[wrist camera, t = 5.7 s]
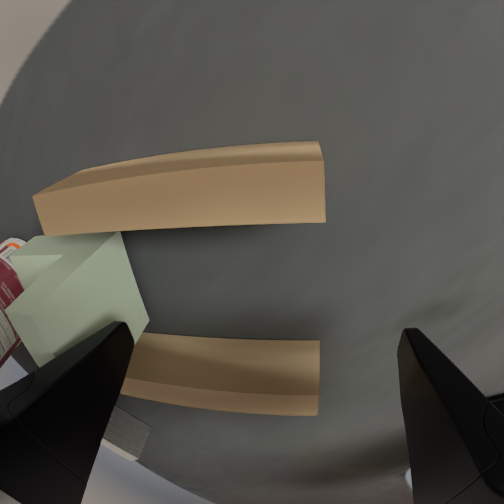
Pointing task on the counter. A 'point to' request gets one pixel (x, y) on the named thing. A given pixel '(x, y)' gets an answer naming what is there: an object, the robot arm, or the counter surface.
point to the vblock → (125, 434)
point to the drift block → (73, 291)
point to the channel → (198, 215)
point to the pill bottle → (8, 297)
